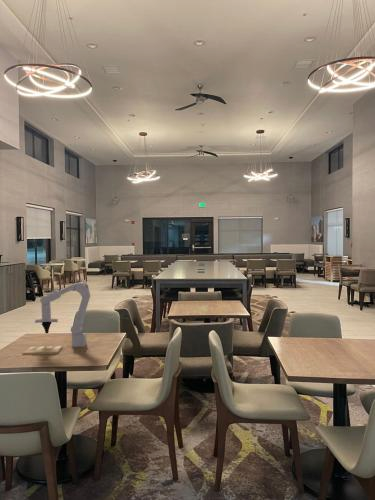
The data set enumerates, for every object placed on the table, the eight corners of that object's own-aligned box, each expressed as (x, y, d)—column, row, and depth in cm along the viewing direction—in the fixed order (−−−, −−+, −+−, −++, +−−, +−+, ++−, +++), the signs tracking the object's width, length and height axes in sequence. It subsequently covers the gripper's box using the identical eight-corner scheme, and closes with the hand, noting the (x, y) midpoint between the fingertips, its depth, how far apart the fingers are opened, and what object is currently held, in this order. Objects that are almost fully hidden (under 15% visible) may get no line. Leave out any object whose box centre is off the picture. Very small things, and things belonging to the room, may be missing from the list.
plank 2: (62, 347, 270) (62, 346, 270) (59, 350, 264) (59, 348, 264) (47, 348, 270) (47, 346, 270) (44, 351, 264) (44, 349, 264)
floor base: (63, 348, 271) (63, 346, 271) (57, 354, 257) (57, 352, 257) (30, 349, 271) (30, 346, 271) (22, 355, 256) (22, 353, 256)
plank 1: (45, 348, 270) (45, 346, 270) (42, 351, 264) (42, 349, 264) (30, 348, 270) (30, 346, 269) (27, 351, 264) (27, 349, 263)
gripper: (58, 311, 278) (59, 331, 279) (37, 312, 278) (38, 331, 278) (55, 313, 271) (56, 333, 272) (33, 314, 271) (34, 334, 271)
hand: (46, 332), depth 275 cm, fingers closed
